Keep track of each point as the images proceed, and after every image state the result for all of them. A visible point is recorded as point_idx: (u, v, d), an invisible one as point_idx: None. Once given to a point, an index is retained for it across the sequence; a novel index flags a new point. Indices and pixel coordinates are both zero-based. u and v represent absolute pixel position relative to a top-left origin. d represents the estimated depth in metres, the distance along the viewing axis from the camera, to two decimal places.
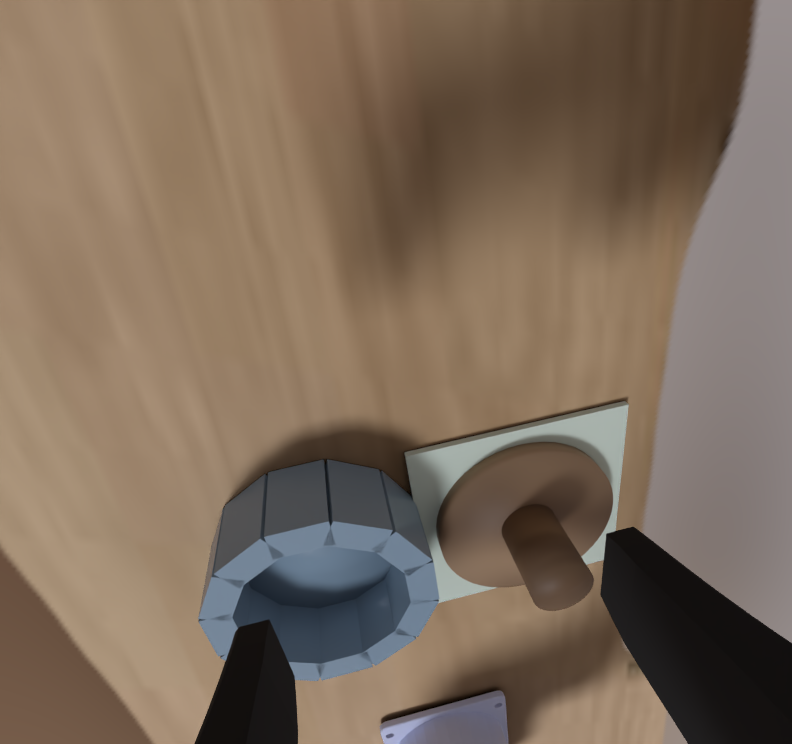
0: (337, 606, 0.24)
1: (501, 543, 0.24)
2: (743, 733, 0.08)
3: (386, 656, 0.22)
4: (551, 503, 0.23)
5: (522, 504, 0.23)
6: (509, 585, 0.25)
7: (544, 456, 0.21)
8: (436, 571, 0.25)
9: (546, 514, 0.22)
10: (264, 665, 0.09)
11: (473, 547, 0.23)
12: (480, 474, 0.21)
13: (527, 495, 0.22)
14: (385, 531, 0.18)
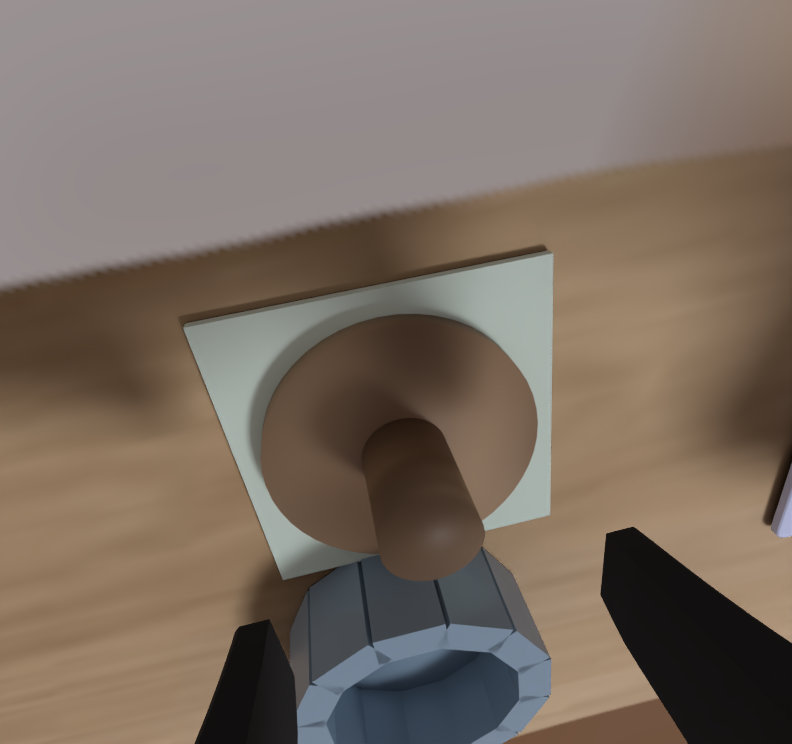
0: None
1: None
2: (743, 733, 0.08)
3: (537, 651, 0.17)
4: (364, 432, 0.14)
5: (359, 471, 0.15)
6: (533, 448, 0.16)
7: (268, 463, 0.14)
8: (486, 520, 0.18)
9: (367, 460, 0.14)
10: (264, 665, 0.09)
11: None
12: None
13: (342, 469, 0.15)
14: (310, 689, 0.16)
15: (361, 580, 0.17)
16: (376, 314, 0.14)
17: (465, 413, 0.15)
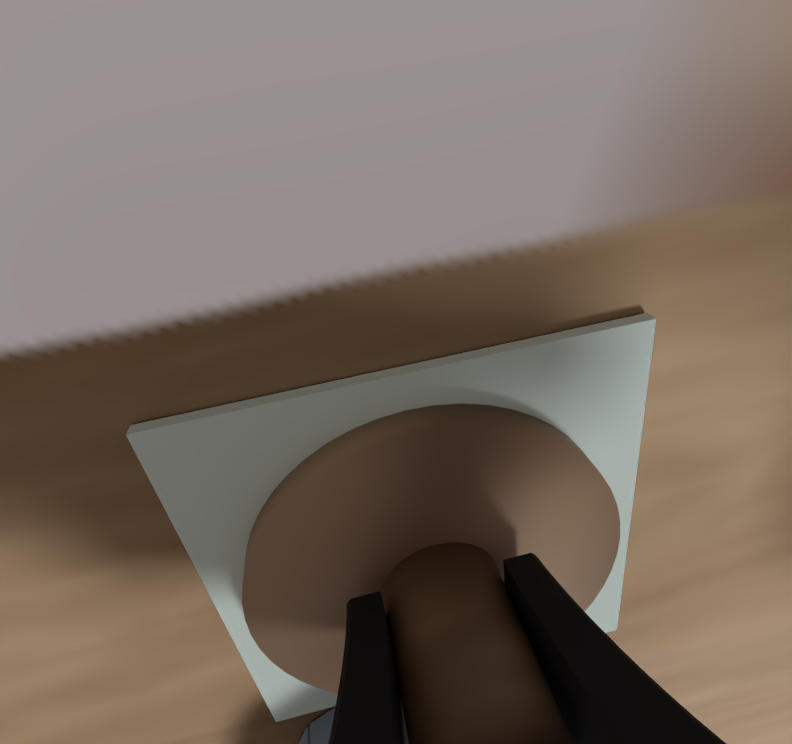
0: None
1: None
2: None
3: None
4: (386, 563, 0.10)
5: None
6: (610, 567, 0.12)
7: (253, 608, 0.10)
8: None
9: (391, 605, 0.10)
10: (387, 633, 0.09)
11: None
12: None
13: None
14: None
15: None
16: (405, 406, 0.10)
17: (524, 532, 0.11)
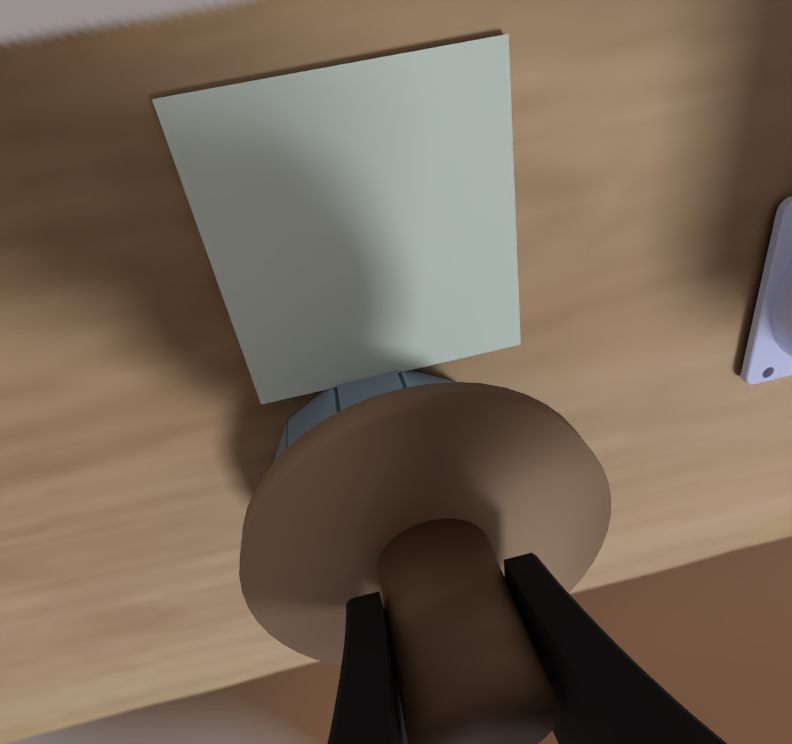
0: None
1: None
2: None
3: None
4: (381, 538, 0.11)
5: (373, 582, 0.11)
6: (600, 543, 0.12)
7: (250, 581, 0.11)
8: (457, 346, 0.19)
9: (385, 579, 0.10)
10: (386, 633, 0.09)
11: None
12: None
13: (351, 581, 0.11)
14: None
15: (336, 399, 0.18)
16: (339, 94, 0.14)
17: (517, 509, 0.11)
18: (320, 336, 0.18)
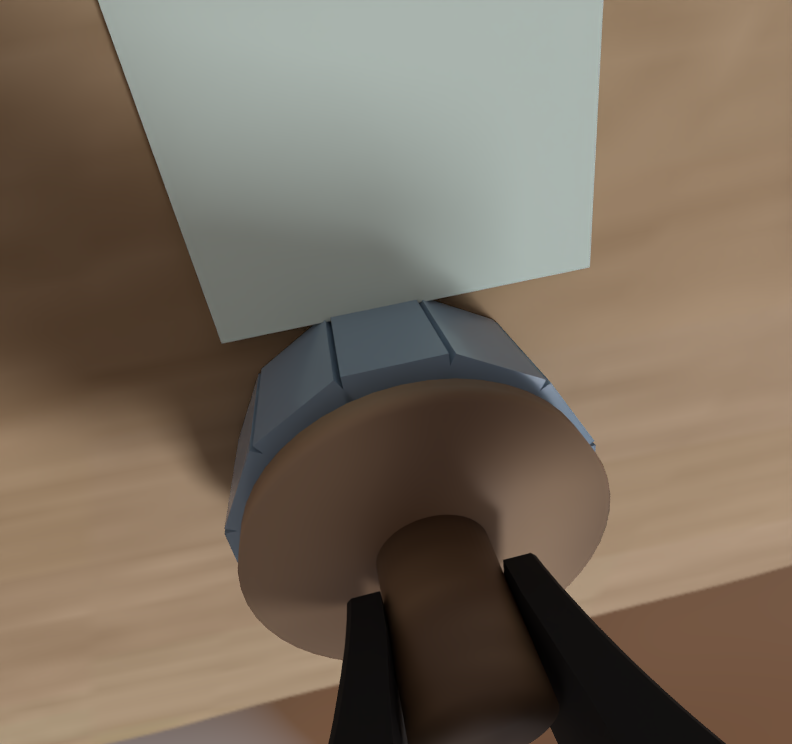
0: None
1: None
2: None
3: (578, 426, 0.12)
4: (380, 534, 0.11)
5: (372, 578, 0.11)
6: (598, 538, 0.12)
7: (249, 577, 0.11)
8: (503, 266, 0.13)
9: (384, 575, 0.10)
10: (387, 633, 0.09)
11: None
12: None
13: (350, 577, 0.11)
14: (251, 460, 0.11)
15: (329, 335, 0.12)
16: None
17: (516, 505, 0.11)
18: (307, 239, 0.12)
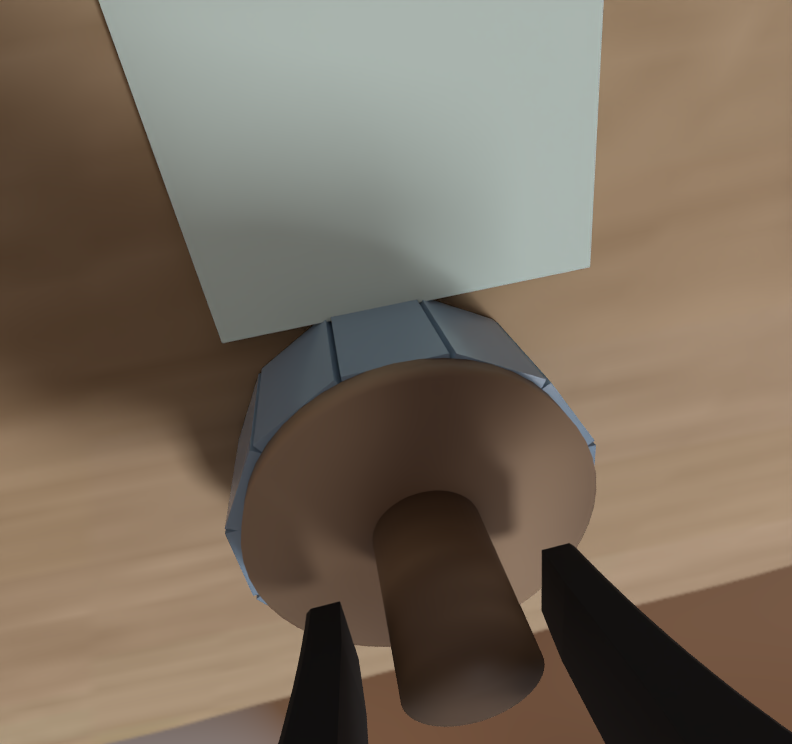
0: None
1: None
2: None
3: (578, 426, 0.12)
4: (376, 509, 0.11)
5: (369, 555, 0.12)
6: (587, 520, 0.13)
7: (251, 551, 0.11)
8: (503, 266, 0.13)
9: (379, 547, 0.11)
10: (342, 644, 0.09)
11: None
12: None
13: (347, 553, 0.12)
14: (252, 460, 0.11)
15: (330, 335, 0.12)
16: None
17: (505, 482, 0.11)
18: (307, 239, 0.12)
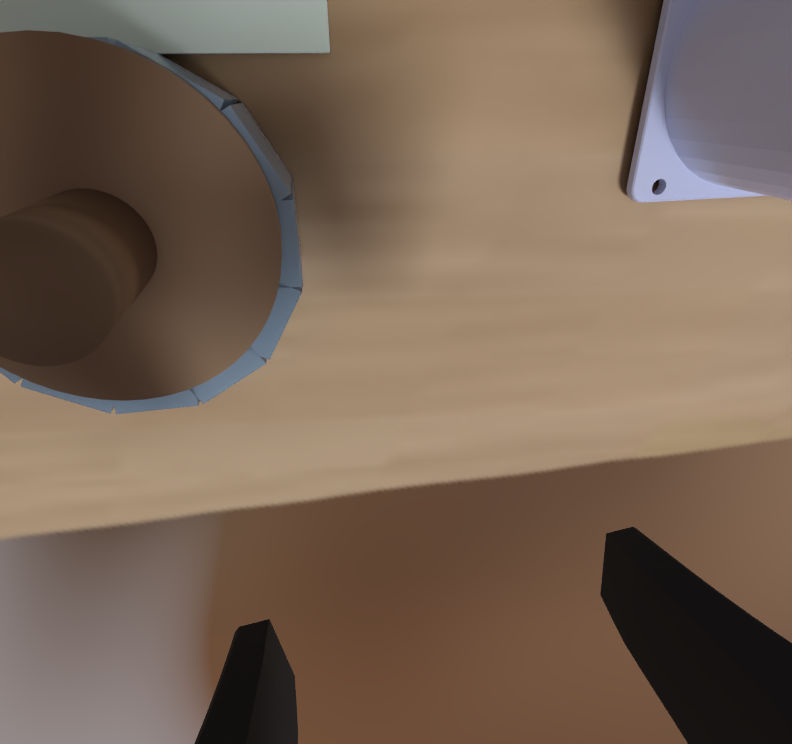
0: None
1: (145, 298, 0.12)
2: (743, 733, 0.08)
3: (269, 170, 0.12)
4: (30, 199, 0.11)
5: None
6: None
7: None
8: (237, 30, 0.13)
9: None
10: (264, 665, 0.09)
11: (151, 348, 0.13)
12: None
13: None
14: None
15: None
16: None
17: (175, 198, 0.12)
18: None
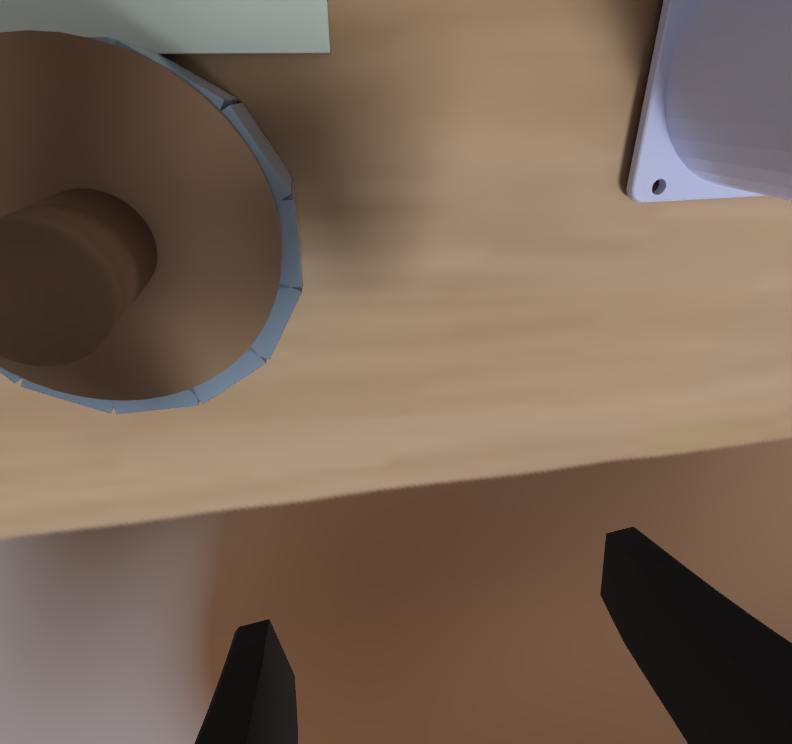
0: None
1: (145, 298, 0.12)
2: (743, 733, 0.08)
3: (269, 170, 0.12)
4: (30, 199, 0.11)
5: None
6: None
7: None
8: (237, 30, 0.13)
9: None
10: (264, 665, 0.09)
11: (151, 348, 0.13)
12: None
13: None
14: None
15: None
16: None
17: (175, 198, 0.12)
18: None
